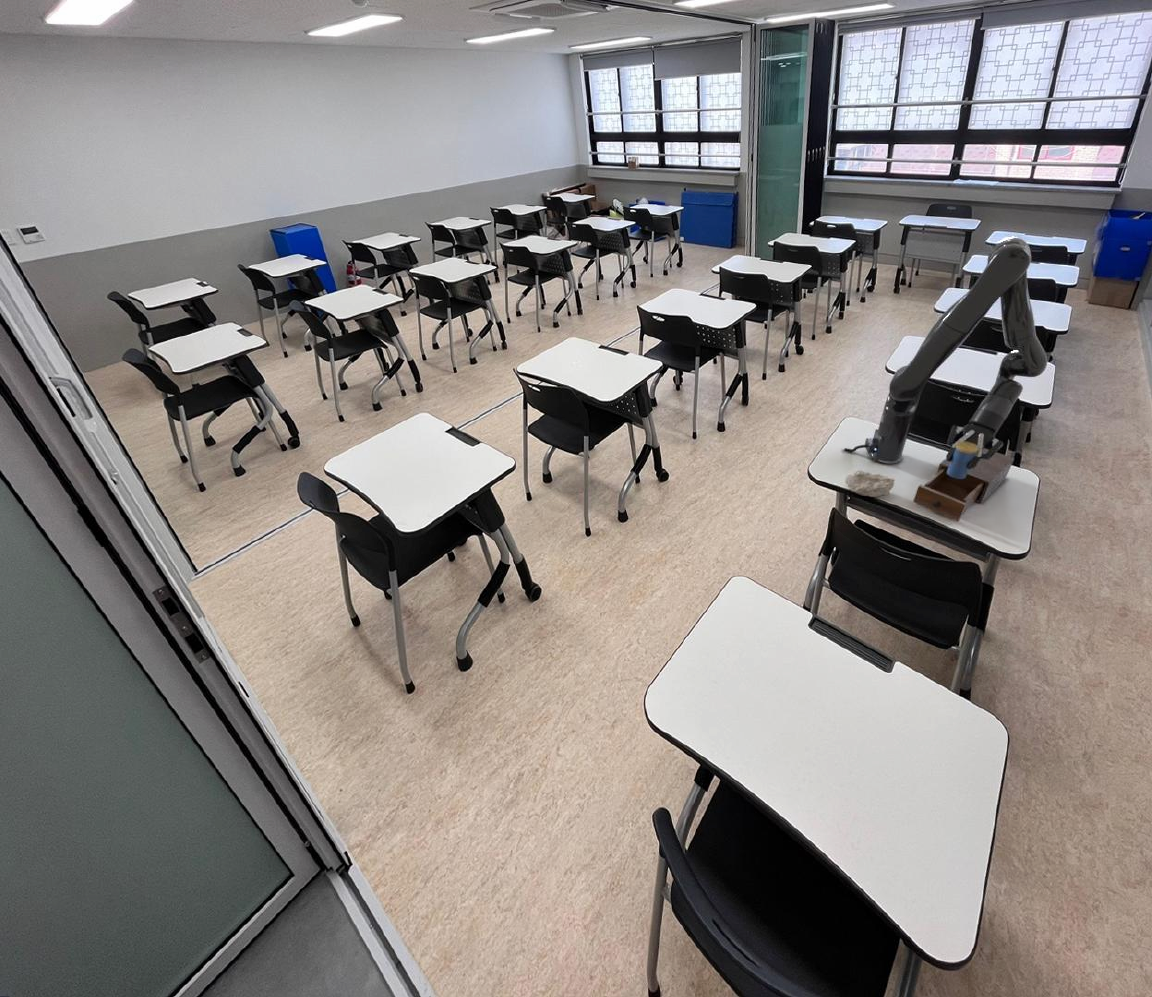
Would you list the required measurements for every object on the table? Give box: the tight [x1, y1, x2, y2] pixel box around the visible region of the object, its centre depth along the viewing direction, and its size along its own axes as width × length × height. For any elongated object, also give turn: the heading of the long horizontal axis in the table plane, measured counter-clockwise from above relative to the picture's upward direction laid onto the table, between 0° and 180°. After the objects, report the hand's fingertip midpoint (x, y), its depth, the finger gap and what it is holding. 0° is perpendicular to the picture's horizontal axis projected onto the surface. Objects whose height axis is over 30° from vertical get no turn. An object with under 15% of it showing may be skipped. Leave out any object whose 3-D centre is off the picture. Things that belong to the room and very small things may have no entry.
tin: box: [947, 441, 979, 479], centre depth 169 cm, size 6×6×10 cm
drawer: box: [913, 468, 986, 522], centre depth 177 cm, size 18×13×6 cm
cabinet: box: [935, 447, 1015, 504], centre depth 184 cm, size 18×15×8 cm
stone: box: [844, 469, 896, 498], centre depth 185 cm, size 8×12×10 cm
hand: (958, 464), depth 169 cm, fingers closed on tin, 5 cm apart
